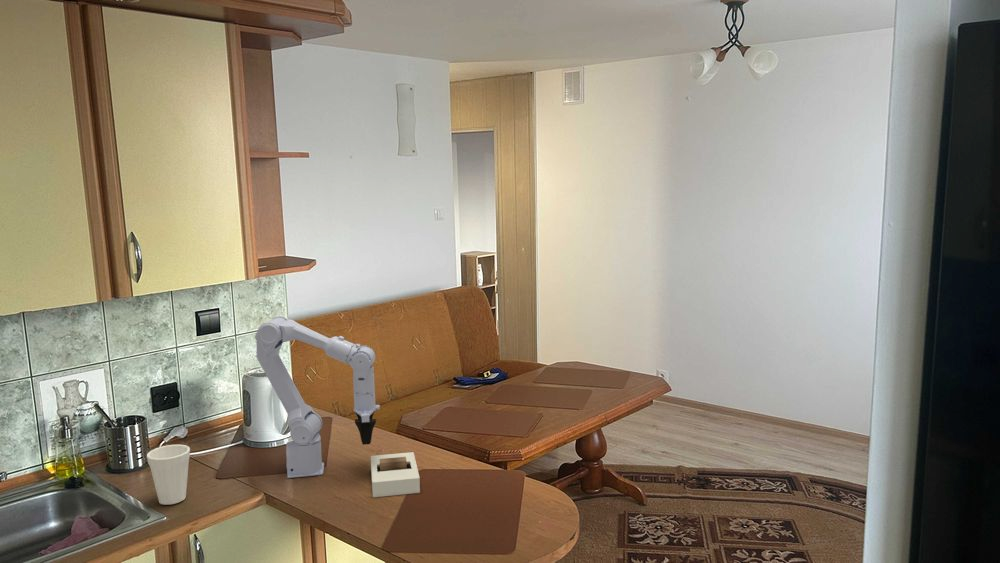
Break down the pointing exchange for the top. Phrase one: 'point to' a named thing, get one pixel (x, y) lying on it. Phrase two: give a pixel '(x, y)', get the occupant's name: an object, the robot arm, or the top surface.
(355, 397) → the robot arm
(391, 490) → the slotted box
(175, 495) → the cup
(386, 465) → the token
